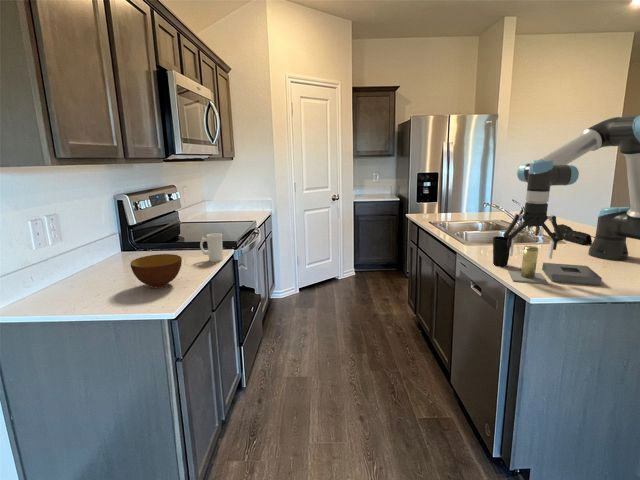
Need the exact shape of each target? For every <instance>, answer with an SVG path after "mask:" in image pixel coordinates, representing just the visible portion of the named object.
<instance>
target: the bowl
mask: <svg viewBox="0 0 640 480" xmlns="http://www.w3.org/2000/svg"><path fill="white" fill-rule="evenodd" d="M182 260H183V259H182V256H180V255H178V254H172V253H160V254H159V253H157V254H150V255H146V256H145V255H144V256H141V257H137V258H135V259H133V260H131V262H130V264H129V265H130V268H131V272H132V273H133V275H134V276H135V277H136V279H137V280H138V281H139V282H141V283H142V284H143V285H147V286H150V288H151V289H162V288H166V287H168V285H169V283H172V281H174V279H176V277H177V276H178V274H179V272H180V271H181V268H182Z"/></svg>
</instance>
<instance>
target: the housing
mask: <svg viewBox="0 0 640 480" xmlns="http://www.w3.org/2000/svg"><path fill="white" fill-rule="evenodd" d="M541 270H542V271H543V273H544V274H545V276H547V278H548V279H549V280H550V281H551V283H562V284H563V283H564V284H575V285H576V284H577V285H585V286H586V285H588V286H601V285H602V280H603V278H602V277H601V276H600V275H599V274H598V273H596V272H595V271H594V270H593V269H591V267H589V266H588V265H582V264H581V265H579V264H569V263H568V264H565V263H555V262H554V263H553V262H551V263H550V262H542V269H541Z"/></svg>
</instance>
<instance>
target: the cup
mask: <svg viewBox="0 0 640 480" xmlns="http://www.w3.org/2000/svg"><path fill="white" fill-rule="evenodd" d="M507 243H508V238H505V237H504V236H498V235H497V236H493V237H492V265H493V264H494V265H495V267H498V266H500V267H499V268H506V267H508V262H509V258H510V255H509V252H510V247H508V246H507ZM494 265H493V266H494Z"/></svg>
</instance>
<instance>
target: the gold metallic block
mask: <svg viewBox="0 0 640 480" xmlns="http://www.w3.org/2000/svg"><path fill="white" fill-rule="evenodd" d="M538 254H539V247H537V246H533V245H524V247H523V256H522V264H521V269H520V270H521V271H520V272H521V277H523V278H528V279H533V278H535V273H536V271H537V270H536V269H537V262H538V256H539V255H538Z"/></svg>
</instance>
